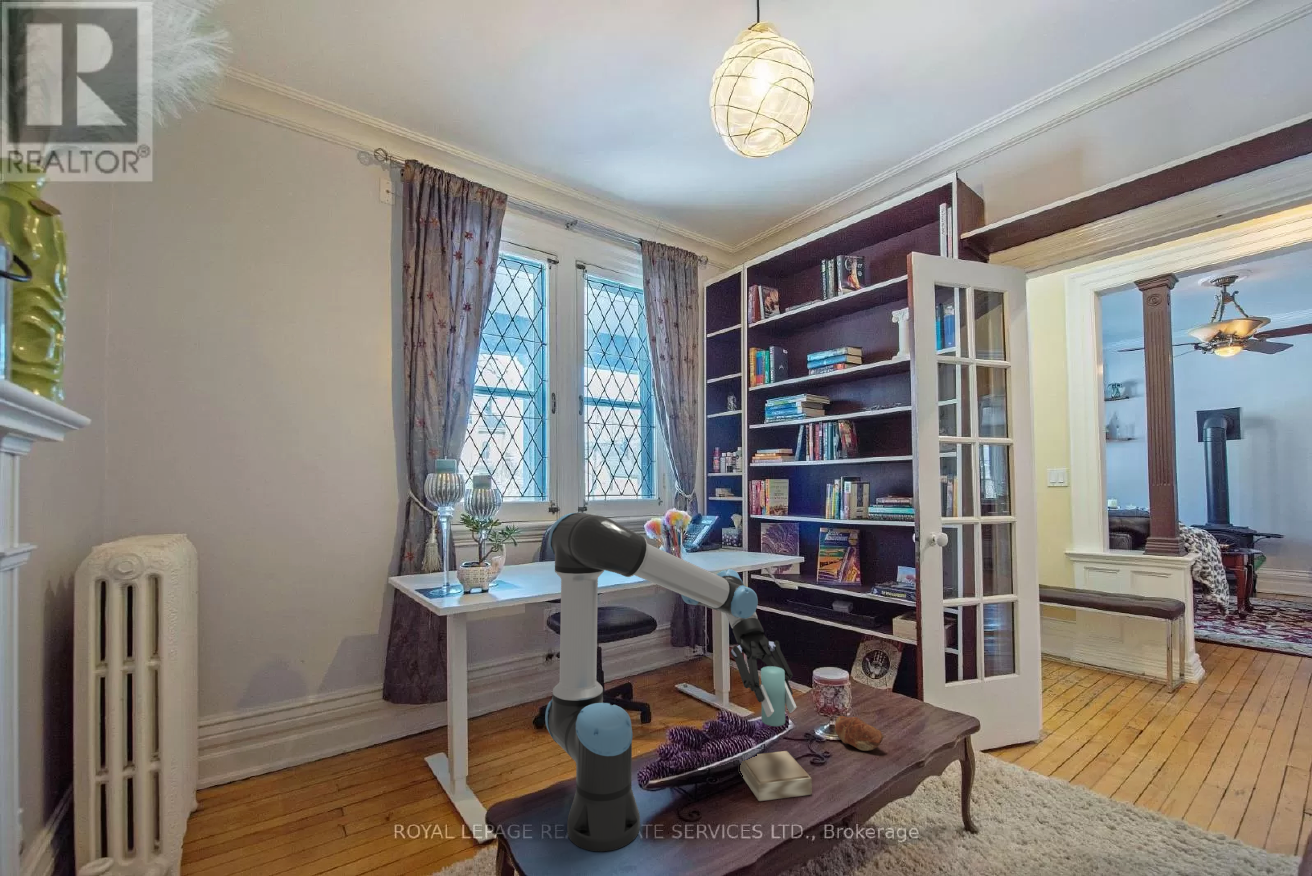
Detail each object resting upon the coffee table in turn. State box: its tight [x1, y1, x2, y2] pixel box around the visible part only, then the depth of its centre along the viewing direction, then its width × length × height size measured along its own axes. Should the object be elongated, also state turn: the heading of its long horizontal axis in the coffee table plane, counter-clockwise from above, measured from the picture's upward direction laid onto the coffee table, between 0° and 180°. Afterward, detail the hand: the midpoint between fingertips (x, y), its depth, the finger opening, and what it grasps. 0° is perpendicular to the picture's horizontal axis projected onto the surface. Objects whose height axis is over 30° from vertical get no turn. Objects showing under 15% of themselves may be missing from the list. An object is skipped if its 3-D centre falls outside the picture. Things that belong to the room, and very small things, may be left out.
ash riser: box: [740, 750, 813, 802], centre depth 136 cm, size 13×13×4 cm
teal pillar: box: [760, 666, 786, 727], centre depth 138 cm, size 6×6×12 cm
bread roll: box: [834, 715, 885, 752], centre depth 156 cm, size 13×8×10 cm
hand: (781, 712), depth 134 cm, fingers closed on teal pillar, 5 cm apart
